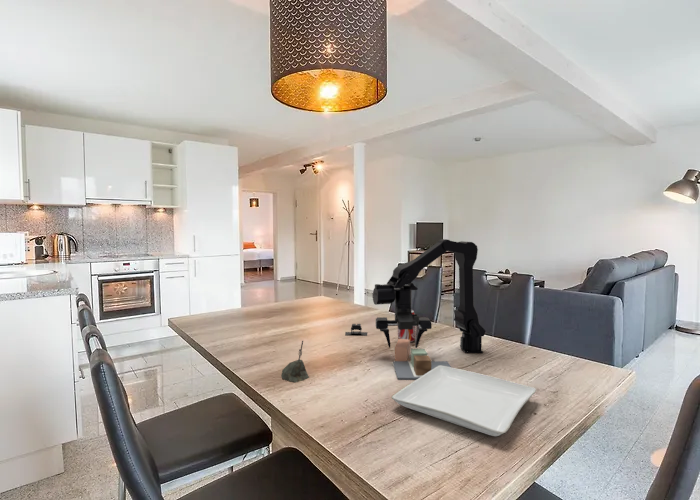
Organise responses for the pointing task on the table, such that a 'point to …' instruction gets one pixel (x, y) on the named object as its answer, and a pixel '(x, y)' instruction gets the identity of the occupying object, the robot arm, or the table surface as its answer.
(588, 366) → the table surface
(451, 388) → the square plate
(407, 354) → the cap block
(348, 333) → the black angular block
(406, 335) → the soda can
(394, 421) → the table surface
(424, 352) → the green cube
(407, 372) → the mat
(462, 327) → the robot arm
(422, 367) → the walnut cube
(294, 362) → the sword in stone
